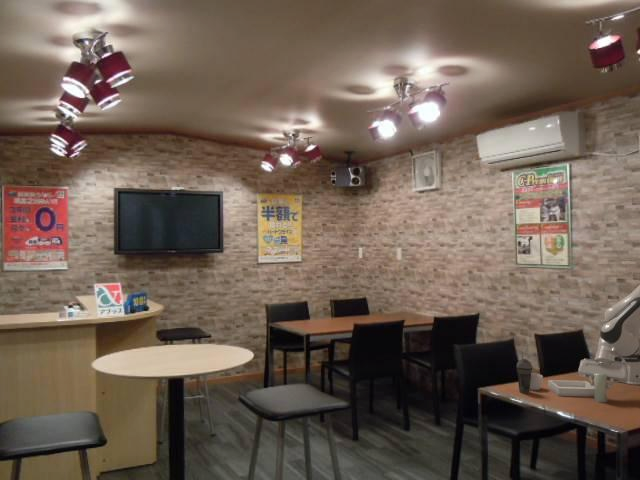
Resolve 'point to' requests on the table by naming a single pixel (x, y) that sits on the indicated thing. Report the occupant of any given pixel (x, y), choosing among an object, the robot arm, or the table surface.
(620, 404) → the table surface
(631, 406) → the table surface
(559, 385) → the tray
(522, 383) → the beverage cup
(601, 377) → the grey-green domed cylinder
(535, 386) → the candle
